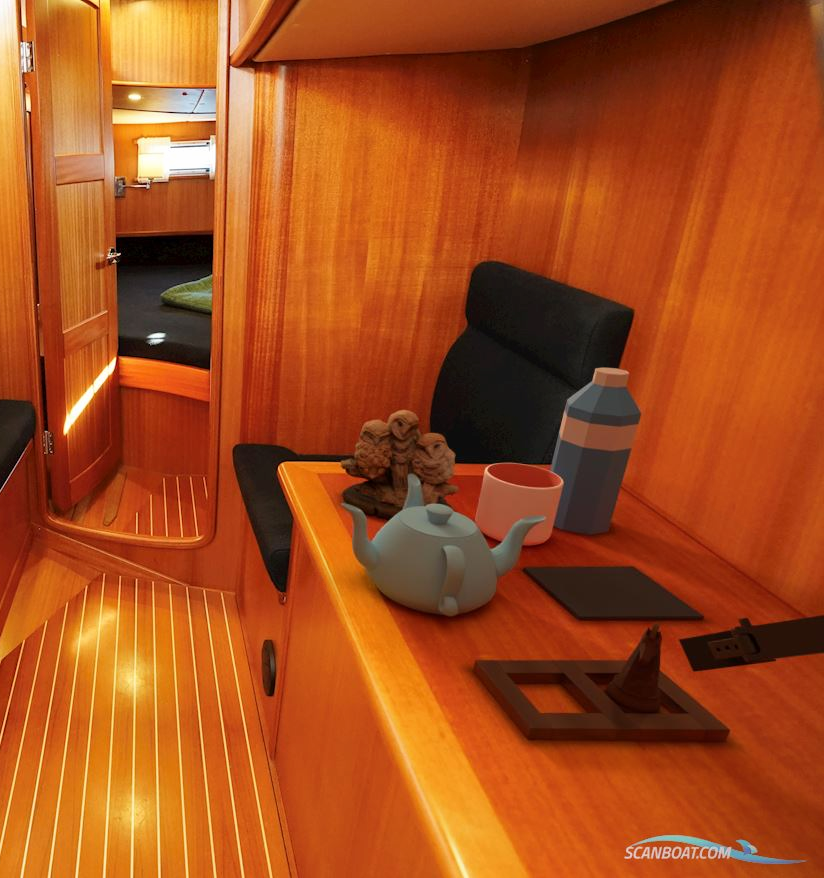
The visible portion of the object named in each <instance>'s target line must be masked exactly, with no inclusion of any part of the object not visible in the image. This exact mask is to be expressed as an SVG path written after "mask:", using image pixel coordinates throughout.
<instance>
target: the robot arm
mask: <svg viewBox="0 0 824 878" xmlns="http://www.w3.org/2000/svg"><path fill="white" fill-rule="evenodd" d="M737 621H738V623H739V625H738V626H735V627H731V628H730V629H729V630H724V631H719V632H718V631H717V632H713V633H707V634H702V635H696V636H691V637H685V638H679V639H678V641H679V644H680V646H681V648H682V650H683V653H684V655H685V656H686V659H687V661H688V663H689V665H690V667H691V670H692V672H703V671H711V670H719V669H726V668H733V667H743V666H749V665H756V664H764V663H765V664H766V663H772V662H777V659H778V660H779V659H787V658H795V657H796V658H797V657H804V656H812V655H820V654H824V614H821V615H816V616H809V617H802V618H796V619H790V620H782V621H776V622H770V623H764V624H756V625H754V624H753V625H752V622H751V621H750V619H749V618H748V617H742V618H738V619H737Z"/></svg>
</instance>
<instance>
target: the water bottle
mask: <svg viewBox="0 0 824 878" xmlns="http://www.w3.org/2000/svg"><path fill="white" fill-rule="evenodd" d="M629 376H630V372H629V371H628V370H625V369H621V368H616V367H615V368H614V367H596V368H594V373H593V377H592V380H591V381H590V382H588V383H587V384H586V385H585V386H584V387H582V388H580V389H579V390H578V391H577V392H575V393H573V394H572V395H571V396H570V397H569V398H567V399H566V403H565V407H564V411H563V415H562V420H561V424H560V427H559V431H558V436H557V440H556V445H555V449H554V453H553V457H552V461H551V465H550V470H549V471H551V472H553V473H555V474H557V475H558V476H560V477H561V478H562V480H563V482H564V484H563V488H562V492H561V496H560V500H559V504H558V508H557V512H556V516H555V520H554V525H553V527H555V528H557V529H559V530H561V531H565V532H571V533H578V534H583V535H588V536H592V535H596V534H603V533H608V532H609V530H610V527H611V523H612V519H613V516H614V512H615V510H616V505H617V502H618V498H619V495H620V491H621V488H622V485H623V481H624V478H625V474H626V470H627V467H628V462H629V459H630V455H631V452H632V449H633V444H634V443H635V439H636V434H637V430H638V427H639V423H640V421H641V417H642V416H641V415H642V412H641V410H640V408H639V407H638V405H637V403H636V401H635V400H634V398H633V396H632V395H631V392H630V391H629V389H628V387H627V384H628V381H629Z"/></svg>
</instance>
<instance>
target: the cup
mask: <svg viewBox="0 0 824 878" xmlns="http://www.w3.org/2000/svg"><path fill="white" fill-rule="evenodd" d="M563 484H564V482H563V480H562V478H561V477H560V476H558V475H557V474H555V473H553V472H551V471H550V470H548V469H545V468H542V467H539V466H534V465H531V464H523V463H517V462H516V463H515V462H500V463H492V464H490V465H487V466H486V467H485V469H484V473H483V477H482V483H481V488H480V492H479V498H478V503H477V508H476V514H475V517H474V518H475V520H474V521H475V522H474V523H475V524H476V525H477V526H478V528H479V529H480V531H481V532H482V534H483V535H485V536H486V537H489V538H491V539H493V540H495V541H498V542H500V543H502V542H503V540H504V539H505V537H506V536H507V534H508V532H509V531H510V529H511V528H512V526H513V525H514V524H515V523H516V522H518V521H519V520H521V519H523V518H526V517H531V516H544V517H546V520H544V521H543V522H541V523H539V524H537V525H535V526H534V527H533V528H532V529H531V530H530V531H529V532H528V534H527V535H526V537H525V539H524V542H523V545H522V546H525V547H526V546H527V547H529V546H537V545H541V544H543V543H546V542H547V541H548V540H549V539H550V538H551V536H552V533H553V529H554V526H553V525H554V520H555V516H556V512H557V508H558V504H559V500H560V496H561V492H562V488H563Z"/></svg>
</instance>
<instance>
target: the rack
mask: <svg viewBox="0 0 824 878" xmlns="http://www.w3.org/2000/svg"><path fill="white" fill-rule="evenodd" d="M627 660H628V659H627ZM627 660H626V659H625V660H624V659H620V660H619V659H618V660H617V659H616V660H615V659H611V660H610V659H598V660H597V659H572V660H570V659H560V660H559V659H552V660H551V659H549V660H548V659H547V660H546V659H499V660H498V659H475V660H474V662H473V663H474V664H473V669H472V672H473V673H474V674H475V675H476V677H477V678H478V679H479V680H480V682H481V683H482V684H483V685H484V687H485V689H487V690H488V692H489V693H490V694H491V695H492V697H493V698H494V699H495V701H497V703H498V704H499V705H500V706H501V708H502V709H503V710H504V711H505V713H506V714H507V715H508V717H509V718H510V719H511V720H512V721H513V723H514V724H515V725H516V727H518V729H519V730H520V732H521V733H522V734H523V735H524V737H525V738H526V739H527V740H528V741H529V740H531V741H532V740H535V741H536V740H537V741H629V742H630V741H631V742H632V741H637V742H640V741H641V742H642V741H643V742H647V741H648V742H727V740H728V737H729V734H730V733H731V729H730V727H728V726H727V725H725V724H724V722H722V721H721V720H719V719H718V717H716V716H715V715H714V714H712V713H711V712H710V710H708V709H707V708H706V707H704V706H703V705H702V704H701V703H700V702H698V701H697V700H696V699H695V698H694V697H692V696H691V695H690V694H689V693H687V691H686V690H684V689H683V688H682V687H681V686H679V685H678V684H677V683H676V682H675V681H674V680H673V679H672V678H670V677H669V676H668V675H667V674H666V673H664V672H663V671H662V670H660V671H659V681H658V686H657V687H658V689H659V690H660V696H659V698H660V701H661V706H663V707H664V708H665V709H666V710H667V711H669V712H670V713H659V714H641V713H626V714H625V713H624V712H623V711H622V710H621V709H620V708H619V707H618V706H617V705H616V704H615V703H614V702H613V701H612V700H611V699H610V698H609V697H608V696H607V695H606V694H605V693H604V692H605V691H603V690H602V689H601V688H600V687H599V686H598V685H608V684H609V683H610V682H611V681H613V679H614V676H615V675H617V674H620V673H621V671H622V669H623V667H624V665H625V664H626V662H627ZM517 684H561V686H562V687H563V688H564V689H565V690H566V691H567V692H568V693H569V694H570V695H571V696H572V698H574V699H575V700H576V701H577V702H578V703H579V705H580V706H581V707H583V709H584V710H585V711H586V712H540V711H539V710H538V709H537V707H536V706H535V705H534V704H533V703H532V701H530V699H529V698H528V697H527V696H526V694H524V692H523V691H522V690H521V689H520V688H519V686H518V685H517Z"/></svg>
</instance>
